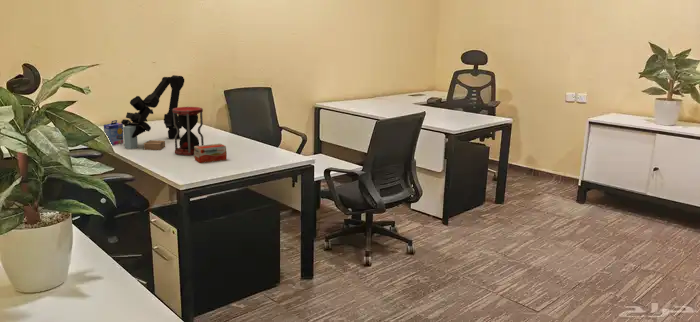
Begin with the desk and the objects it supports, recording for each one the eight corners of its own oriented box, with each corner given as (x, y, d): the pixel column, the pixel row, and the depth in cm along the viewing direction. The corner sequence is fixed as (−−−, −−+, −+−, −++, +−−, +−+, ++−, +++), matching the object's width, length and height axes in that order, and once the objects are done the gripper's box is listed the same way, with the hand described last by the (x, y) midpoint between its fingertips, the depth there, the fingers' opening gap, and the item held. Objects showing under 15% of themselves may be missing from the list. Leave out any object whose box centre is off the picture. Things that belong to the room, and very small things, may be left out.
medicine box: (221, 157, 302) (220, 142, 300) (227, 160, 295) (226, 145, 294) (194, 160, 293) (193, 145, 291) (199, 163, 287) (199, 148, 285)
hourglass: (174, 156, 300) (171, 111, 294) (175, 149, 315) (172, 106, 309) (204, 155, 304) (202, 110, 298) (204, 148, 319) (202, 106, 313)
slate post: (131, 146, 321) (130, 125, 318) (137, 147, 319) (136, 126, 316) (124, 148, 317) (123, 126, 314) (130, 149, 315) (129, 127, 311)
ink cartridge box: (110, 146, 320) (108, 121, 317) (104, 145, 323) (102, 120, 319) (124, 143, 329) (122, 119, 325) (118, 142, 331) (116, 118, 328)
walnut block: (150, 146, 322) (149, 140, 322) (165, 147, 322) (164, 140, 321) (144, 150, 314) (143, 143, 313) (159, 150, 314) (159, 144, 313)
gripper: (122, 105, 320) (108, 127, 313) (145, 108, 311) (131, 130, 305) (134, 117, 328) (120, 138, 322) (157, 120, 320) (143, 141, 313)
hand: (128, 137), depth 315 cm, fingers open, 6 cm apart
